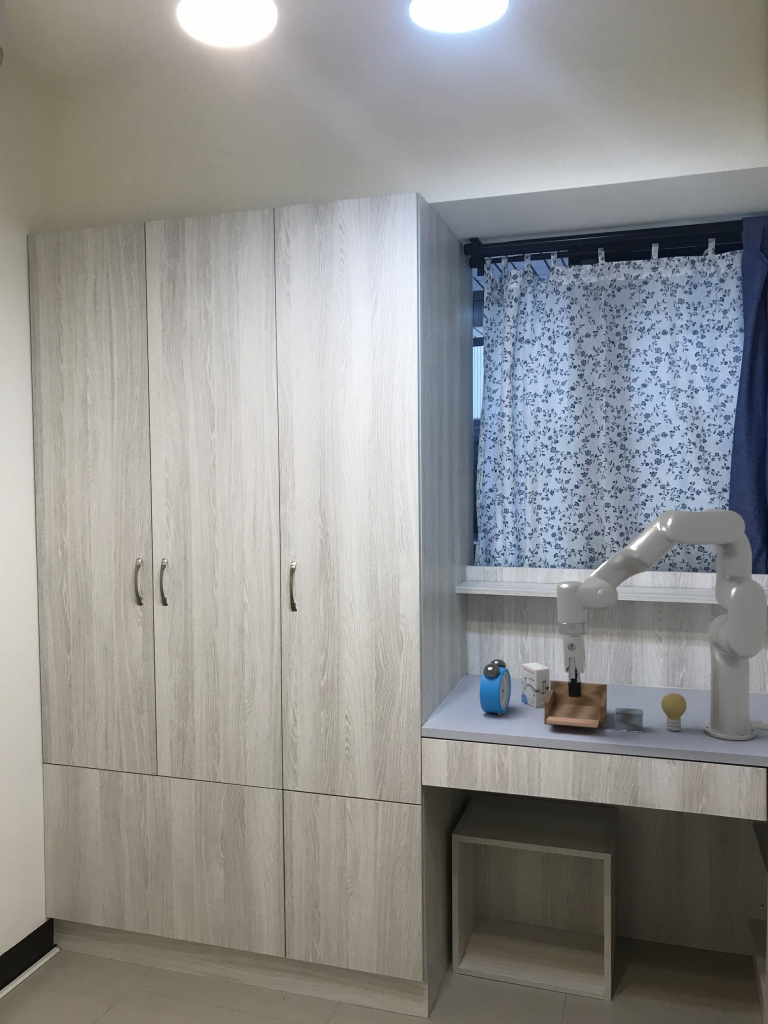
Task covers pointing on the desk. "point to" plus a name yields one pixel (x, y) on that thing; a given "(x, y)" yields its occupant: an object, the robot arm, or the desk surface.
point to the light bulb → (673, 710)
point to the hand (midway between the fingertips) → (575, 696)
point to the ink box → (535, 684)
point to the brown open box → (577, 702)
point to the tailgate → (572, 721)
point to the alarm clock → (495, 687)
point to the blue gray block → (629, 719)
